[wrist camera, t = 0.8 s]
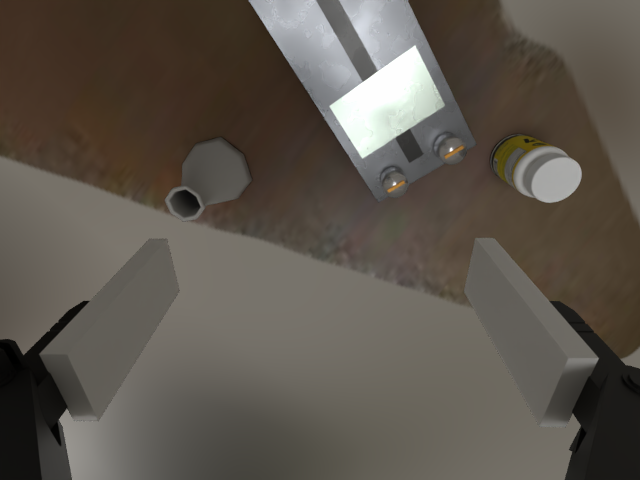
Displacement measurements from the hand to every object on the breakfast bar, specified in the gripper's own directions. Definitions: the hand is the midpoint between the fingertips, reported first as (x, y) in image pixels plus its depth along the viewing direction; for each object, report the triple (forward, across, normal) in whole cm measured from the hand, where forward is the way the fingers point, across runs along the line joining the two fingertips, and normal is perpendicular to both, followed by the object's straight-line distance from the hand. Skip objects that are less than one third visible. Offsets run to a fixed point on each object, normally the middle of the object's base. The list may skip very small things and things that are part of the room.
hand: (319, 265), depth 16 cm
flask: (+25, -12, -3) cm, 28 cm away
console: (+25, +2, +8) cm, 26 cm away
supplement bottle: (+25, +20, -2) cm, 31 cm away
